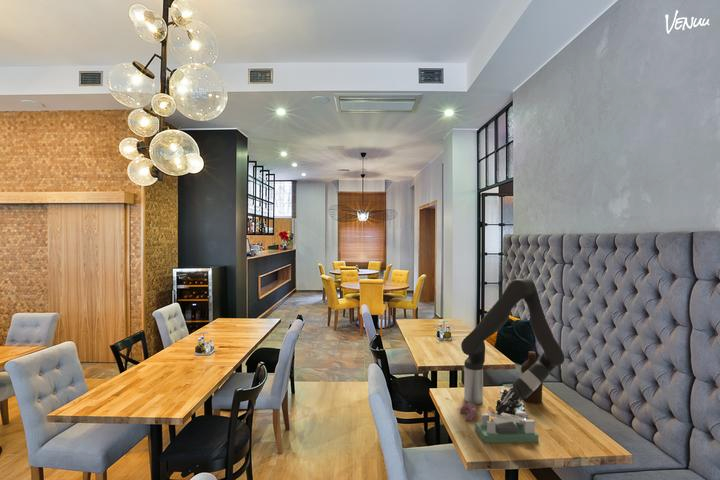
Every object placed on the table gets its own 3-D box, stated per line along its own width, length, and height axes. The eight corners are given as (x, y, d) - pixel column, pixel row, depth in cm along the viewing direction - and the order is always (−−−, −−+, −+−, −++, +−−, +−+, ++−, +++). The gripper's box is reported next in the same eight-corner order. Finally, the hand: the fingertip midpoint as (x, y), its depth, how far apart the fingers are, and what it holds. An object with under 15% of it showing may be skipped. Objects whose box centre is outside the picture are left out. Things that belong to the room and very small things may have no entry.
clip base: (475, 429, 162) (475, 411, 162) (525, 428, 163) (525, 410, 163) (484, 442, 151) (484, 423, 151) (538, 442, 152) (538, 422, 152)
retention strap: (486, 411, 159) (487, 406, 159) (523, 420, 159) (525, 415, 159) (490, 417, 154) (492, 411, 154) (529, 426, 155) (530, 420, 155)
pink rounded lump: (473, 424, 169) (480, 411, 169) (464, 420, 169) (471, 406, 169) (467, 414, 178) (473, 401, 179) (458, 410, 178) (465, 397, 178)
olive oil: (544, 398, 193) (544, 351, 194) (541, 406, 185) (541, 356, 185) (523, 393, 200) (523, 347, 200) (518, 400, 191) (519, 352, 191)
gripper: (513, 372, 163) (485, 399, 163) (528, 383, 150) (498, 413, 150) (524, 384, 164) (497, 411, 163) (540, 396, 150) (510, 426, 150)
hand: (497, 412), depth 156 cm, fingers closed
